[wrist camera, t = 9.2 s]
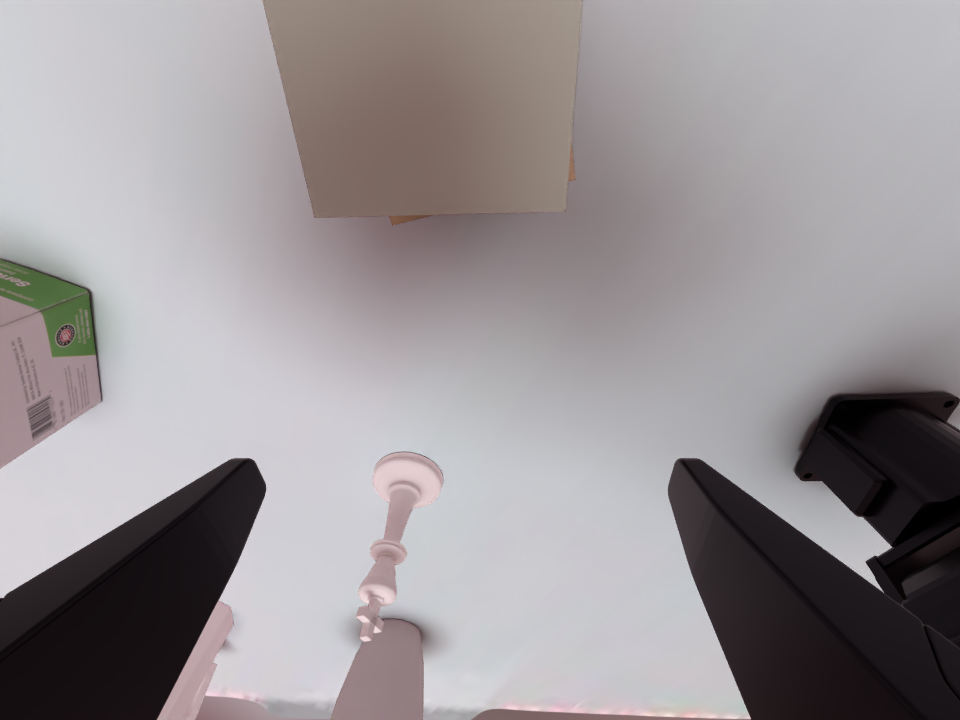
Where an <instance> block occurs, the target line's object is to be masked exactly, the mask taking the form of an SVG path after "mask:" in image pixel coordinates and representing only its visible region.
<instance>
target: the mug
mask: <svg viewBox="0 0 960 720" xmlns="http://www.w3.org/2000/svg"><path fill="white" fill-rule="evenodd" d="M233 625H234V623H233V617H232V612H231V607H229V606H227V605H225V604H224V603H222V602H220V601H218V602H217V604H216V606H215V608H214V610H213V612H212V614H211V616H210V618H209V620H208V622H207V624H206V626H205V628H204V629H203V631H202V633H201V635H200V637H199V639H198V641H197V643H196V645H195V647H194V649H193V651H192V653H191V655H190V657H189V659H188V661H187V662H186V664H185V666H184V668H183V670H182V672H181V674H180V676H179V678H178V680H177V682H176V684H175V686H174V688H173V690H172V692H171V694H170V696H169V697H168V699H167V701H166V703H165V705H164V707H163V709H162V711H161V713H160V715H159V717H158V719H157V720H195V719H196V716H197V714H198V711H199V708H200V706H201V704H202V701H203V698H204V696H205V694H206V691H207V689H208V686H209V684H210V681H211V679H212V676H213V674H214V671H215V669H216V666H217V664H215V663H213V661H214V659H215V657H216V655H217V654H218V652H219V650H220V648H221V646H222V645H223V643H224V641H225V639H226V637H227V635H228V634H229V632H230V630H231V628H232V626H233Z"/></svg>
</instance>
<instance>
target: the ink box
mask: <svg viewBox="0 0 960 720" xmlns="http://www.w3.org/2000/svg"><path fill="white" fill-rule="evenodd" d="M100 402H101V393H100V386H99V378H98V369H97V361H96V351H95V344H94V336H93V327H92V318H91V309H90V302H89V293H88V291H87V290H86V289H84V288H81V287H78V286H75V285H73V284H70V283H67V282H64V281H62V280H59V279H56V278H54V277H51V276H48V275H45V274H42V273H40V272H37V271H34V270H31V269H28V268H25V267H22V266H19V265H16V264H12V263H9V262H6V261H3V260H0V469H1V468H2V467H3V466H5V465H7V464H8V463H10V462H11V461H13V460H14V459H16V458H17V457H19V456H20V455H22V454H23V453H25V452H26V451H28V450H29V449H31V448H32V447H34V446H35V445H37V444H38V443H40V442H41V441H43V440H44V439H46V438H47V437H49V436H50V435H52V434H53V433H55V432H56V431H58V430H59V429H61V428H62V427H64V426H65V425H67V424H68V423H70V422H71V421H73V420H74V419H76V418H77V417H79V416H80V415H82V414H84V413H85V412H87V411H88V410H90V409H91V408H93V407H94V406H96V405H97V404H99V403H100Z"/></svg>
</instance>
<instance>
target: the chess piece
mask: <svg viewBox="0 0 960 720" xmlns="http://www.w3.org/2000/svg"><path fill="white" fill-rule="evenodd" d="M442 485H443V476H442V473H441V471H440V469H439V468H438V467H437V465H436V464H434V463H433V462H432V461H431V460H429V459H428V458H426V457H424V456H421V455H418V454H414V453H408V452H400V453H393V454H390V455H388V456H385V457H384V458H382V459H381V460H380V461H379V462H378V463H377V464H376V466H375V469H374V475H373V486H374V488H375V490H376V492H377V493H378V494H379V496H380V497H381V498H383V499H384V500H385V501H387V502H389V510H388V517H387V523H386V529H385V534H384V539H383V540H378V541H376V542H374V543H373V544H372V545H371V548H370V550H371V551H370V554H371V557H372V558H373V559H374V560H375V561H376V563H375V564H374V566H373V567H372V568H371V570H370V572H369V574H368V575H367V577H366V578H365V579H364V580H363V582H362V584H361V585H360V587H359V590H358V595H359V597H360V598H361V600H362V601H364V602H365V603H367V604H368V607H367V606H362V607H359V608H358V612H357V615H356V617H357V618H358V619H359V620H360V621H361V622H362V623H363V625H362V629H361V632H360V636H359V638H360V639H361V640H362V641H364V642H366V641H371V640H372V637H373V633H379V632H382V630H383V625H384V622H383V621H382V620H381V619H380V618H379V617H378V613H379V609H380V606H387V605H389V604H391V603H393V602H394V601H395V599H396V595H397V589H396V581H395V565H397V564H400V563H402V562H403V561H404V559H405V558H406V556H407V550H406V548H405V547H404V546H403V545H402V544H401V543H400V540H401V538H402V535H403V532H404V529H405V527H406V524H407V521H408V519H409V516H410V514H411V511H412V509H413V508H419V507H423V506H426V505H428V504H430V503H432V502H433V501H434V500H435V499H436V498H437V497H438V496H439V494H440V491H441V488H442Z"/></svg>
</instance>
